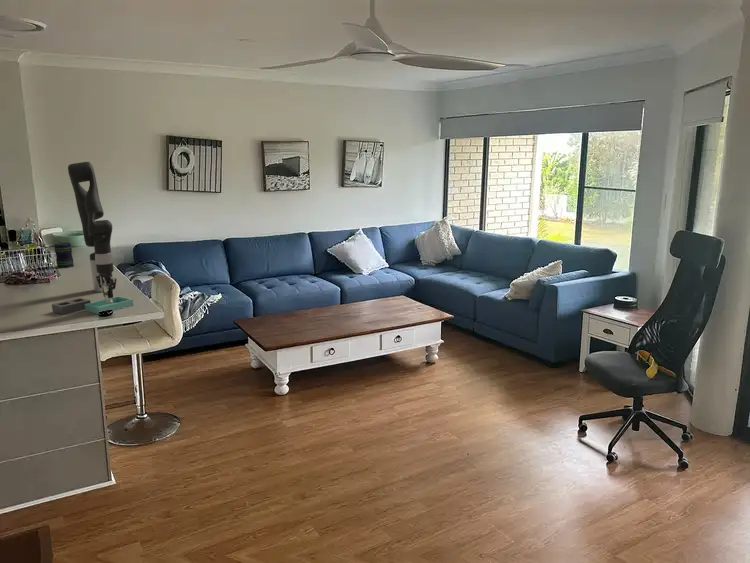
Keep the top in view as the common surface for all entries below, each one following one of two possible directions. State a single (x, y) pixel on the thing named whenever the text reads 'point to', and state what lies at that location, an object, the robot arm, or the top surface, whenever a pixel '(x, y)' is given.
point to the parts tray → (101, 306)
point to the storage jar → (64, 255)
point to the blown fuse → (107, 300)
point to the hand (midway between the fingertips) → (108, 297)
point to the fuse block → (70, 306)
